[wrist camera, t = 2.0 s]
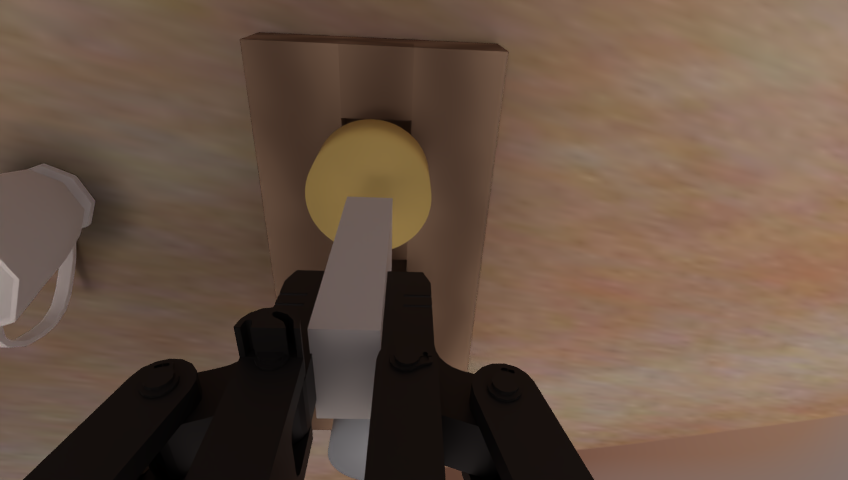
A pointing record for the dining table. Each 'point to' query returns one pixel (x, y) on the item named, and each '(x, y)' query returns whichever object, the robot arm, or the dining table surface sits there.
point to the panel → (398, 104)
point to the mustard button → (370, 176)
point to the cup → (39, 242)
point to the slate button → (349, 446)
